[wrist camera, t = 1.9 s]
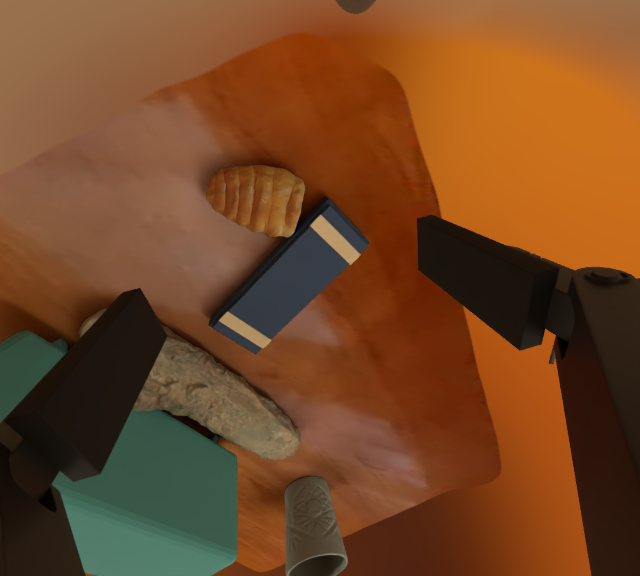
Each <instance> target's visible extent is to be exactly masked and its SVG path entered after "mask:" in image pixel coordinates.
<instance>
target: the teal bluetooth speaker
mask: <svg viewBox="0 0 640 576" xmlns="http://www.w3.org/2000/svg"><path fill="white" fill-rule="evenodd" d="M67 352H68V344H67V342H65V341H64V340H62V339H58V340H56V341H54V342H52V343H50V342H48V341H46V340H45V339H43V338H41V337H40V336H38V335H36V334H35V333H33V332H30V331H21V332H18V333H15V334H14V335H12V336H10V337H9V338H7V339H5V340H4V341H2V342H0V423H1V422H2V421H3V419H4V418H5V417H6V416H7V415H8V414H9V413H10V412H11V411H12V410H13V409H14V408H15V407H16V406H17V405H18V403H19V402H20V401H21V400H23V399H24V397H25V396H26V395H27V394H28V393H29V392H30V391H31V390H32V389H33V388H34V386H35V385H36V384H37V383H38V382H39V381H40V380H41V379H42V378H43V377H44V376H45V375H46V374H47V373H48V372H49V371H50V370H51V369H52V368H53V367H54V366H55V364H56V363H57V362H58V361H59V360H60V359H61V358H62V357H63V356H64V355H65V354H66V353H67ZM218 439H219V437H218V436H216V435H214V436H213V437H212V438H211V439H208V438H207V437H205V436H203V435H202V434H200V433H198V432H197V431H195V430H193V429H192V428H190V427H188V426H187V425H185V424H183V423H182V422H180V421H179V420H177V419H175V418H174V417H172V416H170V415H169V414H167V413H165V412H164V411H162V410H158V409H155V410H152V411H131V413H130V415H129V417H128V419H127V421H126V423H125V425H124V427H123V429H122V431H121V434H120V436H119V438H118V440H117V442H116V444H115V446H114V448H113V450H112V452H111V454H110V456H109V458H108V460H107V462H106V464H105V466H104V469H103V471H102V473H101V474H100V475H96V476H93V477H89V478H86V479H83V480H79V481H76V482H72V481H71V480H70V479H69V478H68V477H67V476H66V475H64V474H63V473H62V472H61V471H59V473H58V474H57V476H56V478H55V479H54V481H53V483H52V485H53V486H54V487H56V488H57V489H58V490H59V491H60V494H61V497H62V500H63V503H64V507H65V510H66V513H67V517H68V520H69V523H70V526H71V530H72V533H73V536H74V539H75V543H76V546H77V549H78V553H79V556H80V559H81V562H82V566H83V569H84V572H85V573H89V574H93V575H98V576H211V575H213V574H215V573H216V572H218V571H220V570H222V569H223V568H225V567H227V566H229V565H230V564H232V563H233V562H234V561H235V560H236V558H237V552H238V550H237V457H236V455H235V454H233V453H231V452H230V451H228V450H226V449H225V448H223V447H222V446H220V445H218V444H217V443H218Z"/></svg>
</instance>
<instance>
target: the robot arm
mask: <svg viewBox="0 0 640 576" xmlns="http://www.w3.org/2000/svg"><path fill="white" fill-rule="evenodd" d="M417 233H418V270H419V271H421V272H422V273H423V274H424V275H426V276H427V277H428V278H429V279H431V280H432V281H433V282H434V283H436V284H437V285H438V286H439V287H441V288H442V289H443V290H444V291H446V292H447V293H448V294H449V295H451V296H452V297H453V298H454V299H456V300H457V301H458V302H459V303H461V304H462V305H463V306H465V307H466V308H467V309H468V310H469V311H471V312H472V313H474V315H476V316H477V317H478V318H479V319H481V320H482V321H483V322H485V323H486V324H487V325H488V326H489V327H491V328H492V329H493V330H495V331H496V332H497V333H498V334H500V335H501V336H502V337H503V338H505V339H506V340H507V341H508V342H510V343H511V344H512V345H513V346H515V347H516V348H517V349H519V350H524V349H527V348H530V347H534V346H537V345H541V344H542V340H543V336H544V332H545V329H547V330H548V331H550V332H552V333H553V334H555V335H556V338H555V341H554V345H553V349H552V353H551V356H550V360H549V364H553V363H554V360H555V359H556V363H557V369H558V375H559V381H560V387H561V393H562V399H563V405H564V411H565V417H566V424H567V430H568V436H569V442H570V448H571V454H572V460H573V466H574V472H575V478H576V484H577V490H578V497H579V503H580V509H581V515H582V521H583V527H584V533H585V539H586V545H587V551H588V557H589V563H590V569H591V575H592V576H640V278H639V279H636V278H635V277H634V276H632V275H631V274H628V273H626V272H623V271H620V270H616V269H611V268H603V267H586V268H581V269H577V270H576V271H575V270H572V269H570V268H567V267H565V266H562V265H560V264H557V263H555V262H552V261H550V260H547V259H545V258H541V257H540V256H537V255H535V254H530V252H527V251H525V250H523V249H520V248H517V247H512V246H506V245H504V244H501V243H499V242H496V241H494V240H492V239H489V238H487V237H484V236H482V235H480V234H477V233H475V232H472V231H470V230H467V229H465V228H463V227H460V226H458V225H455V224H453V223H451V222H448V221H446V220H443V219H441V218H438V217H436V216H434V215H429V216H426V217H422V218H418V219H417ZM167 337H168V336H167V334H166V332H165V330H164V329H163V327H162V325H161V323H160V322H159V320H158V318H157V316H156V315H155V313H154V311H153V309H152V308H151V306H150V304H149V303H148V301H147V299H146V297H145V296H144V294H143V292H142V290H141V289H140V288H138V289H134V290H130V291H126V292H123V293H122V294H121V295H120V296H119V297H118V298H117V299H116V300H115V301H114V302H113V303H112V304H111V305H110V307H109V308H108V309H107V310H106V311H105V312H104V313H103V314H102V315H101V316H100V317H99V318H98V319H97V320H96V322H95V323H94V324H93V325H92V326H91V327H90V328H89V329H88V330H87V331H86V332H85V333H84V334H83V336H82V337H81V338H80V339H79V340H78V341H77V342H76V343H75V344H74V345H73V346H72V347H71V348H70V349H69V351H68V352H67V353H66V354H65V355H64V356H63V357H62V358H61V359H60V360H59V361H58V362H57V363H56V364H55V366H54V367H53V368H52V369H51V370H50V371H49V372H48V373H47V374H46V375H45V376H44V377H43V378H42V379H41V380H40V381H39V382H38V383H37V384H36V385H35V386H34V388H33V389H32V390H31V391H30V392H29V393H28V394H27V395H26V396H25V397H24V399H23V400H21V401H20V402H19V403H18V405H17V406H16V407H15V408H14V409H13V410H12V411H11V412H10V413H9V414H8V415H7V416H6V417H5V418H4V419H3V421H2V422H1V423H0V576H86V575H85V572H84V569H83V566H82V562H81V559H80V556H79V553H78V549H77V546H76V543H75V539H74V536H73V533H72V530H71V526H70V523H69V520H68V517H67V513H66V510H65V507H64V503H63V500H62V497H61V494H60V491H59V490H58V489H57V488H56V487H54V486H53V485H52V483H53V481H54V479H55V478H56V476H57V474H58V473H59V471H61V472H62V473H63V474H64V475H66V476H67V477H68V478H69V479H70V480H71V481H72V482H76V481H79V480H83V479H86V478H89V477H93V476H96V475H100V474H101V473H102V471H103V469H104V466H105V464H106V462H107V460H108V458H109V456H110V454H111V452H112V450H113V448H114V446H115V444H116V442H117V440H118V438H119V436H120V434H121V431H122V429H123V427H124V425H125V423H126V421H127V419H128V417H129V415H130V413H131V411H132V409H133V407H134V405H135V403H136V401H137V399H138V396H139V394H140V392H141V390H142V388H143V386H144V384H145V382H146V380H147V378H148V376H149V374H150V372H151V370H152V368H153V366H154V364H155V361H156V359H157V357H158V355H159V353H160V351H161V349H162V347H163V345H164V343H165V341H166V339H167Z"/></svg>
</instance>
